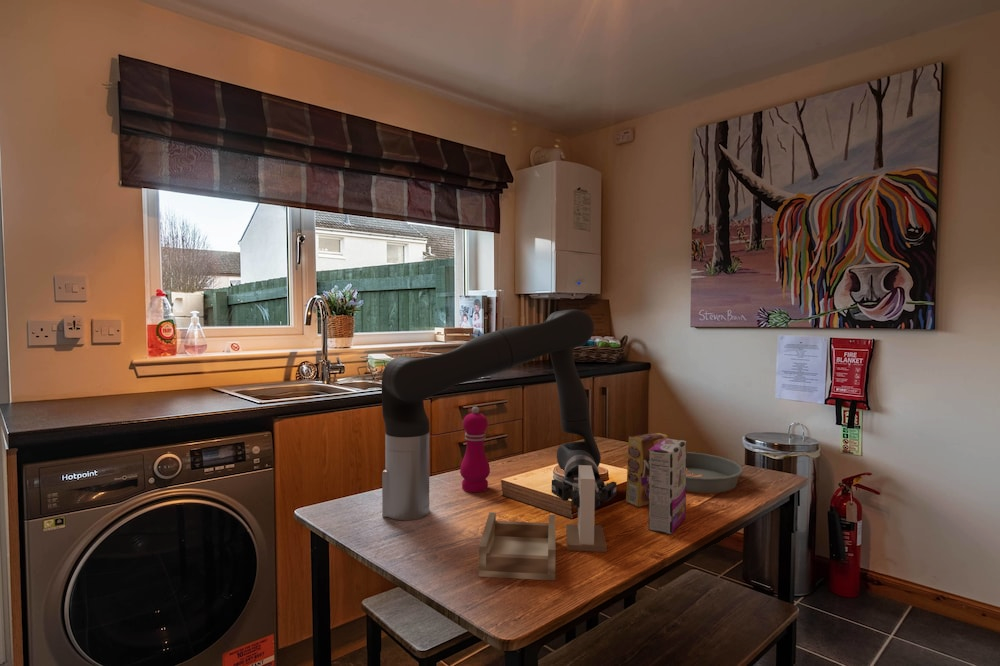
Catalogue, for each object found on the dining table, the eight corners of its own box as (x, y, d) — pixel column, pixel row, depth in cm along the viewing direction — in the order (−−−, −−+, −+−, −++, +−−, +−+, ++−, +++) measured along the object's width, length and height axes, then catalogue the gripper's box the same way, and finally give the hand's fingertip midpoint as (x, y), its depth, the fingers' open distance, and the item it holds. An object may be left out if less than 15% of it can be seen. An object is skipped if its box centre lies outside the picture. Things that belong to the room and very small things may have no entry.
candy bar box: (662, 513, 121) (663, 437, 120) (686, 517, 118) (687, 440, 117) (646, 530, 111) (647, 448, 110) (671, 535, 108) (673, 451, 108)
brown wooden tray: (478, 576, 91) (478, 546, 91) (489, 538, 107) (489, 512, 106) (555, 580, 90) (555, 549, 90) (554, 541, 105) (555, 514, 105)
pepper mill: (472, 482, 141) (473, 403, 141) (495, 487, 137) (496, 406, 136) (453, 489, 136) (454, 407, 135) (477, 495, 131) (477, 410, 130)
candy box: (639, 508, 123) (641, 439, 123) (625, 502, 127) (626, 435, 126) (667, 501, 128) (668, 434, 128) (652, 495, 132) (653, 431, 131)
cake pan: (623, 479, 145) (623, 462, 145) (673, 462, 162) (673, 446, 162) (714, 503, 127) (715, 483, 127) (760, 481, 144) (760, 464, 144)
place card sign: (567, 550, 101) (568, 479, 101) (566, 528, 111) (567, 464, 111) (606, 552, 101) (607, 480, 100) (601, 530, 111) (602, 465, 110)
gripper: (549, 457, 122) (549, 481, 105) (614, 459, 121) (625, 484, 103) (549, 491, 122) (548, 521, 105) (614, 494, 121) (624, 524, 104)
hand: (586, 502), depth 104 cm, fingers closed on place card sign, 2 cm apart
